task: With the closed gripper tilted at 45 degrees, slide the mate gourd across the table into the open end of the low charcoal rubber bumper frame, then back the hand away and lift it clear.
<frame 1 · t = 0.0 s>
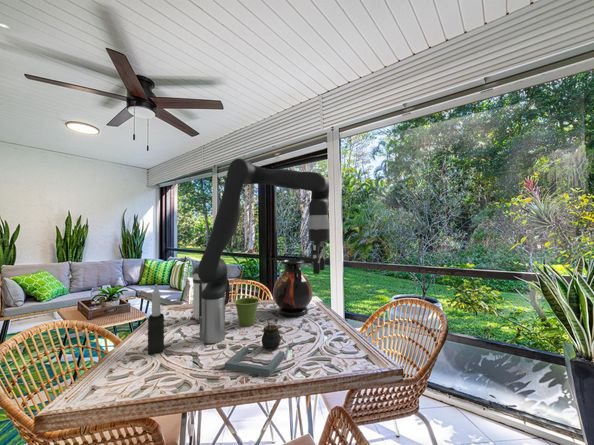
hand: (319, 272, 103), 29 cm above the table, tool pointing down, fingers open, 8 cm apart
coffee press: (208, 319, 142), on the table
plant pot: (247, 324, 133), on the table
bumper frame: (257, 361, 96), on the table
amphora vase: (292, 312, 152), on the table
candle: (156, 351, 105), on the table
mate gourd: (270, 348, 107), on the table
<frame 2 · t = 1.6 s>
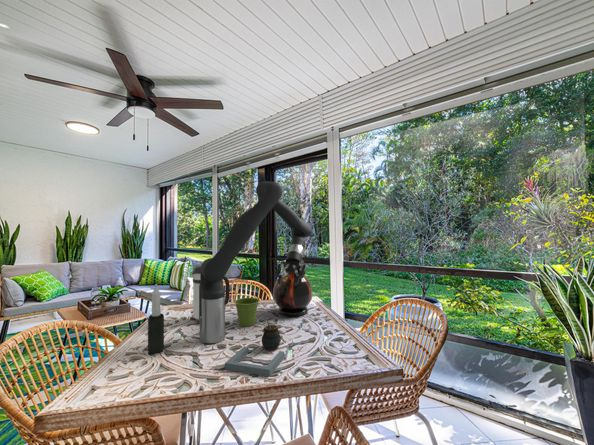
hand: (287, 284, 126), 20 cm above the table, tool tilted 45°, fingers open, 7 cm apart
nothing on the table moved.
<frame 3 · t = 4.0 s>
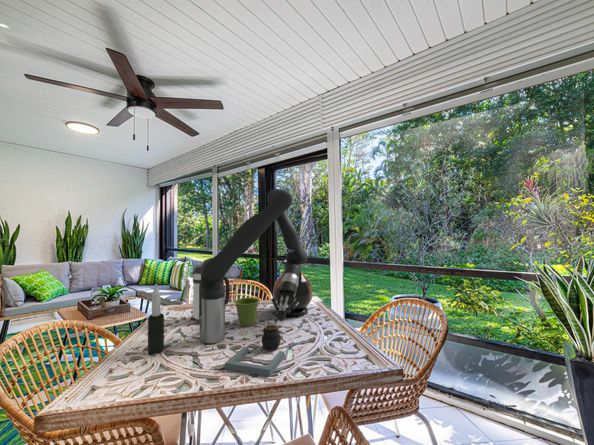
hand: (280, 320, 117), 7 cm above the table, tool tilted 45°, fingers closed
nothing on the table moved.
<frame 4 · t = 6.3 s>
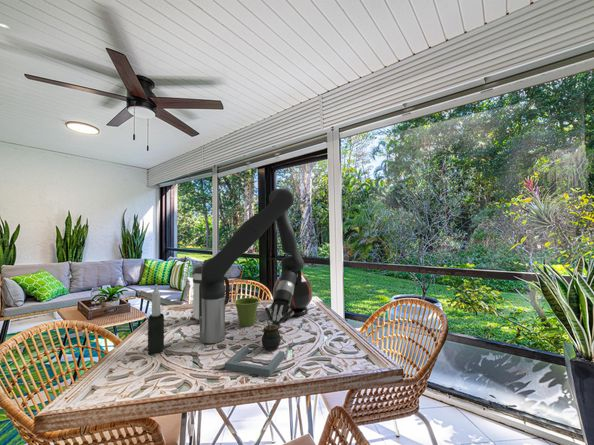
hand: (274, 331, 110), 5 cm above the table, tool tilted 45°, fingers closed
mate gourd: (270, 348, 107), on the table, touching gripper
everything else where it was.
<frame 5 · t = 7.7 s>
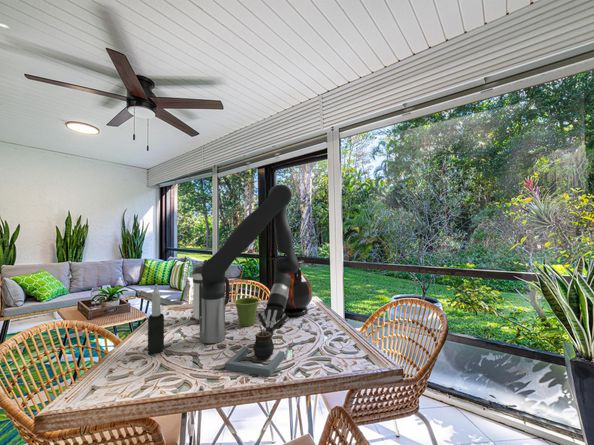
hand: (267, 338, 103), 5 cm above the table, tool tilted 45°, fingers closed
mate gourd: (263, 356, 100), on the table, touching gripper
everything else where it was.
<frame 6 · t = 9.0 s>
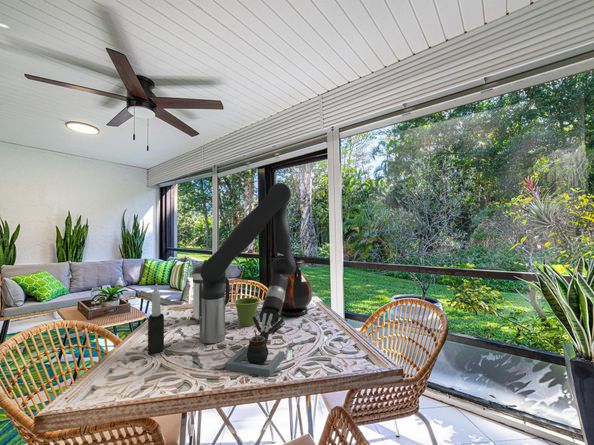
hand: (262, 343, 99), 5 cm above the table, tool tilted 45°, fingers closed
mate gourd: (257, 362, 95), on the table, touching gripper
everything else where it was.
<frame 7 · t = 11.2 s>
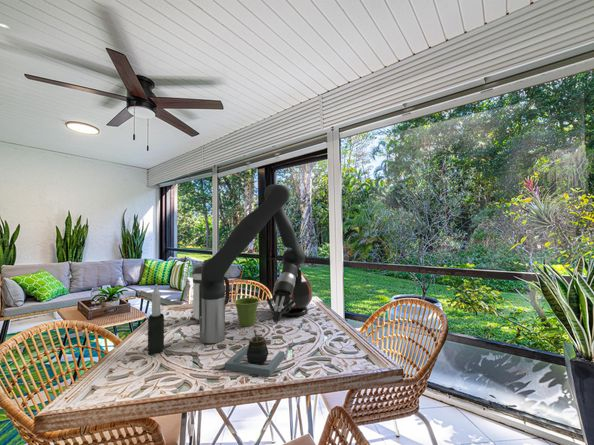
hand: (275, 321, 112), 8 cm above the table, tool tilted 45°, fingers closed
mate gourd: (257, 363, 95), on the table
everything else where it was.
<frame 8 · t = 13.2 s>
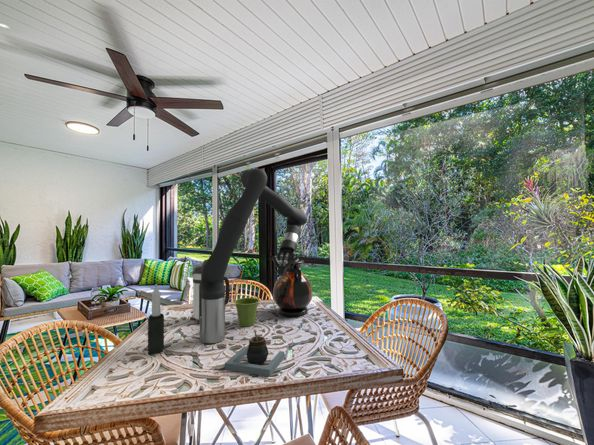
hand: (280, 275, 118), 26 cm above the table, tool tilted 45°, fingers closed
nothing on the table moved.
at the end: mate gourd inside the target area (0.3 cm from its centre), on the table; mate gourd tilted 0° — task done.
